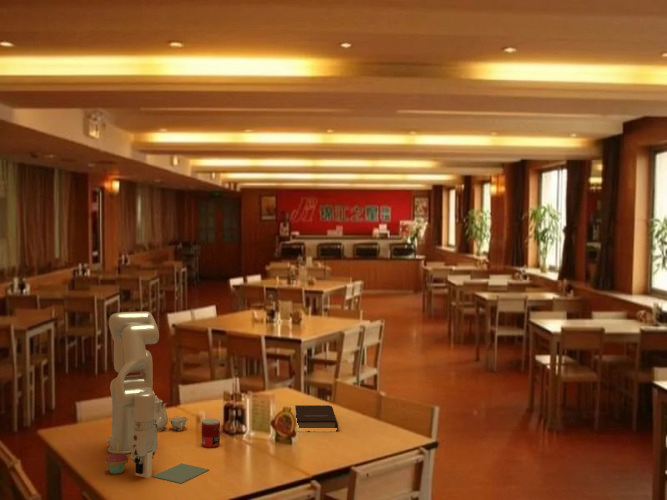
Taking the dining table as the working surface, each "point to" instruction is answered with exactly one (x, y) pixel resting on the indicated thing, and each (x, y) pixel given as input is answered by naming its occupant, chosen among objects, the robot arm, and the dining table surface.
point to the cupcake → (116, 461)
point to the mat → (181, 473)
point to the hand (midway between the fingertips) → (143, 470)
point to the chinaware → (166, 417)
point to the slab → (146, 465)
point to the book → (315, 416)
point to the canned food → (210, 433)
